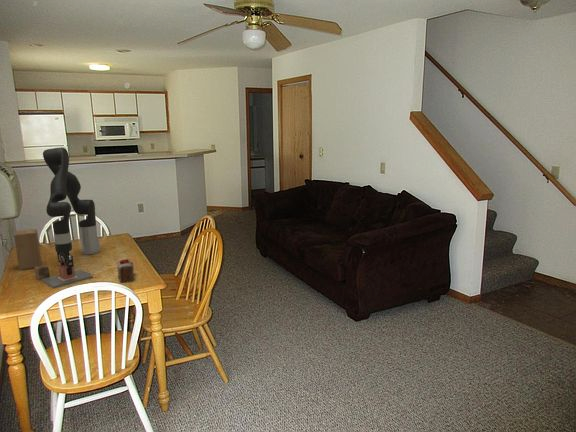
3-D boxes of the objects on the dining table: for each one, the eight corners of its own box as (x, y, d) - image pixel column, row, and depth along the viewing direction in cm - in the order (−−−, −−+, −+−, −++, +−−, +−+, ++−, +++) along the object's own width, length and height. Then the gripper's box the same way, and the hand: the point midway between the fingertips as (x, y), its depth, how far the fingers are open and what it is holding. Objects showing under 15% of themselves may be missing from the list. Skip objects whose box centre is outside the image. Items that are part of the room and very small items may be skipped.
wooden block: (19, 270, 224) (13, 234, 220) (21, 265, 233) (16, 230, 229) (40, 267, 229) (35, 232, 224) (41, 262, 237) (36, 228, 233)
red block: (71, 274, 214) (69, 263, 213) (75, 277, 210) (74, 265, 209) (59, 277, 210) (58, 266, 209) (63, 279, 206) (62, 268, 205)
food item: (117, 274, 216) (115, 257, 214) (133, 272, 220) (131, 254, 218) (119, 283, 204) (117, 264, 202) (136, 280, 208) (134, 262, 206)
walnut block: (46, 275, 216) (44, 264, 215) (49, 277, 213) (48, 266, 212) (35, 277, 213) (34, 266, 212) (39, 280, 210) (37, 269, 208)
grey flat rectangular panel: (80, 271, 222) (80, 269, 222) (93, 277, 212) (92, 275, 212) (42, 280, 208) (41, 278, 208) (53, 288, 198) (52, 286, 198)
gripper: (76, 242, 204) (80, 274, 208) (65, 237, 213) (69, 268, 217) (60, 245, 199) (64, 278, 202) (49, 240, 208) (53, 271, 212)
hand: (67, 272), depth 210 cm, fingers open, 6 cm apart
